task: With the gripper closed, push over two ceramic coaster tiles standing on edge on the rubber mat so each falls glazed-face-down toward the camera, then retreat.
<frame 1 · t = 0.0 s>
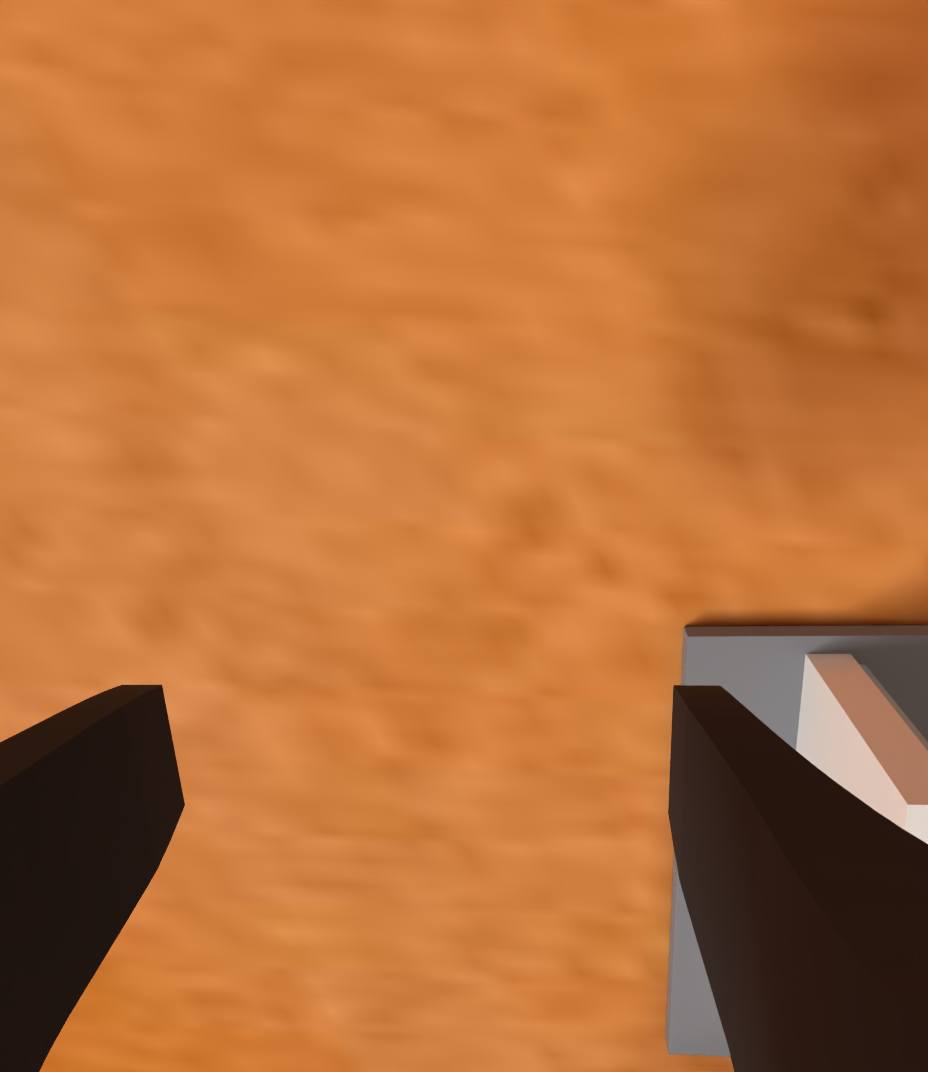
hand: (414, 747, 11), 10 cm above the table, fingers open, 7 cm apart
tile b: (816, 755, 21), point 1 cm above the table, touching mat
mat: (907, 856, 23), on the table
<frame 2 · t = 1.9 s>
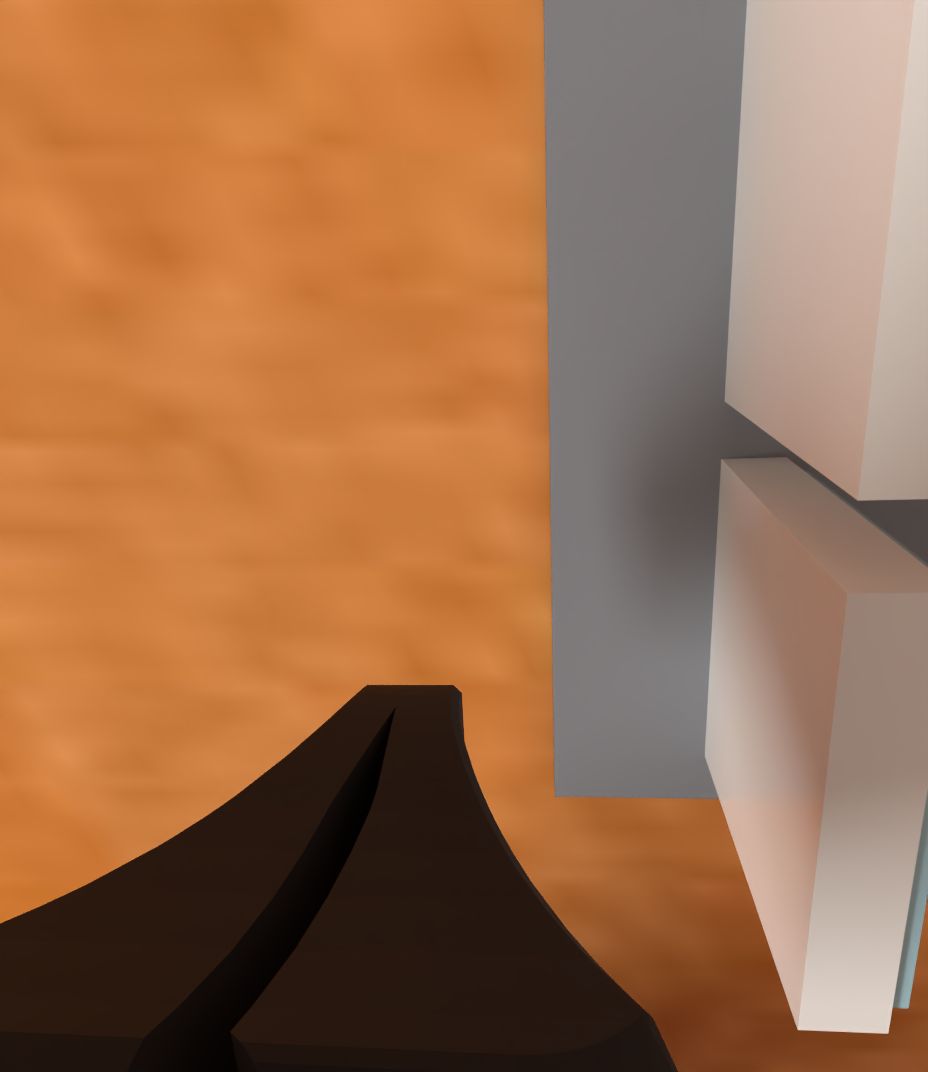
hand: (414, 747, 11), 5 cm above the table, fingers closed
tile b: (771, 209, 13), point 1 cm above the table, touching mat
tile a: (742, 616, 15), point 1 cm above the table, touching mat
mat: (922, 431, 14), on the table
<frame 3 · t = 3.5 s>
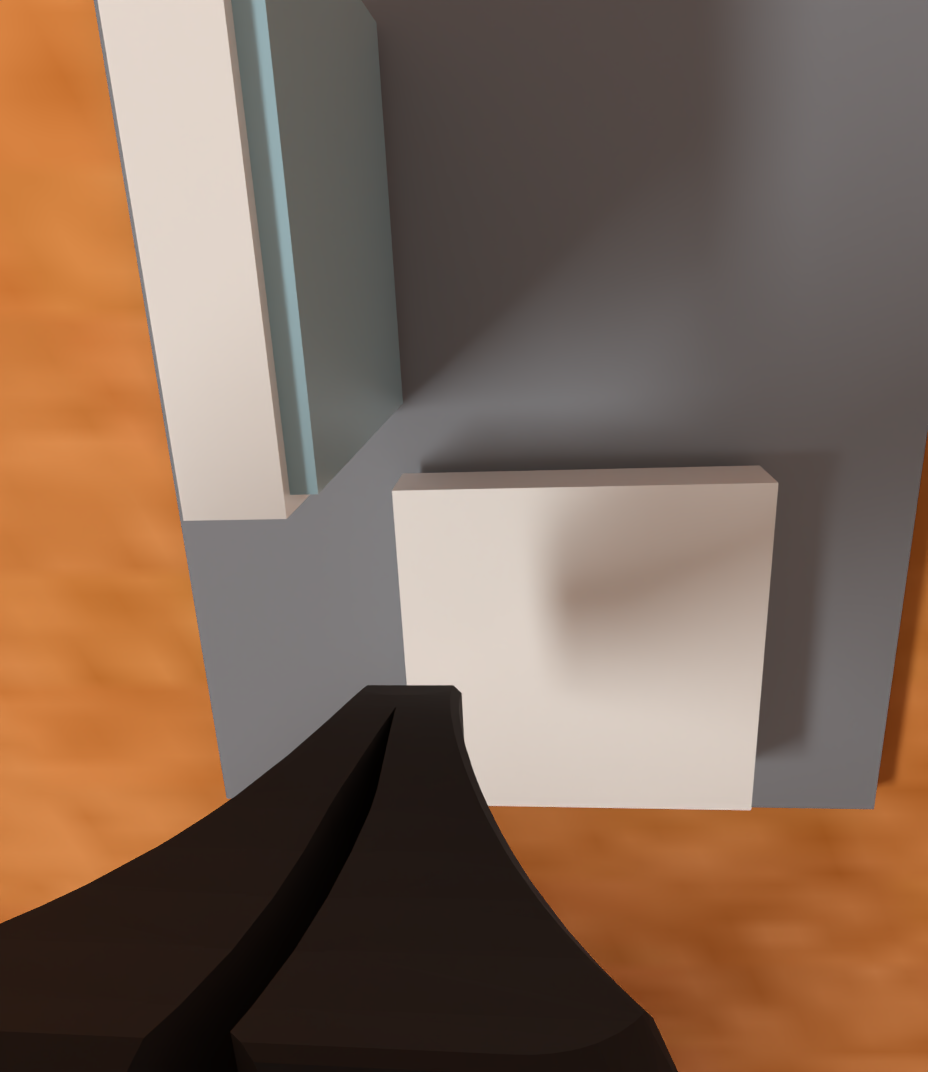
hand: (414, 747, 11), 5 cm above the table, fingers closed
tile b: (340, 229, 13), point 1 cm above the table, touching mat
tile a: (409, 644, 14), point 1 cm above the table, tilted 90°, touching mat
mat: (531, 444, 14), on the table
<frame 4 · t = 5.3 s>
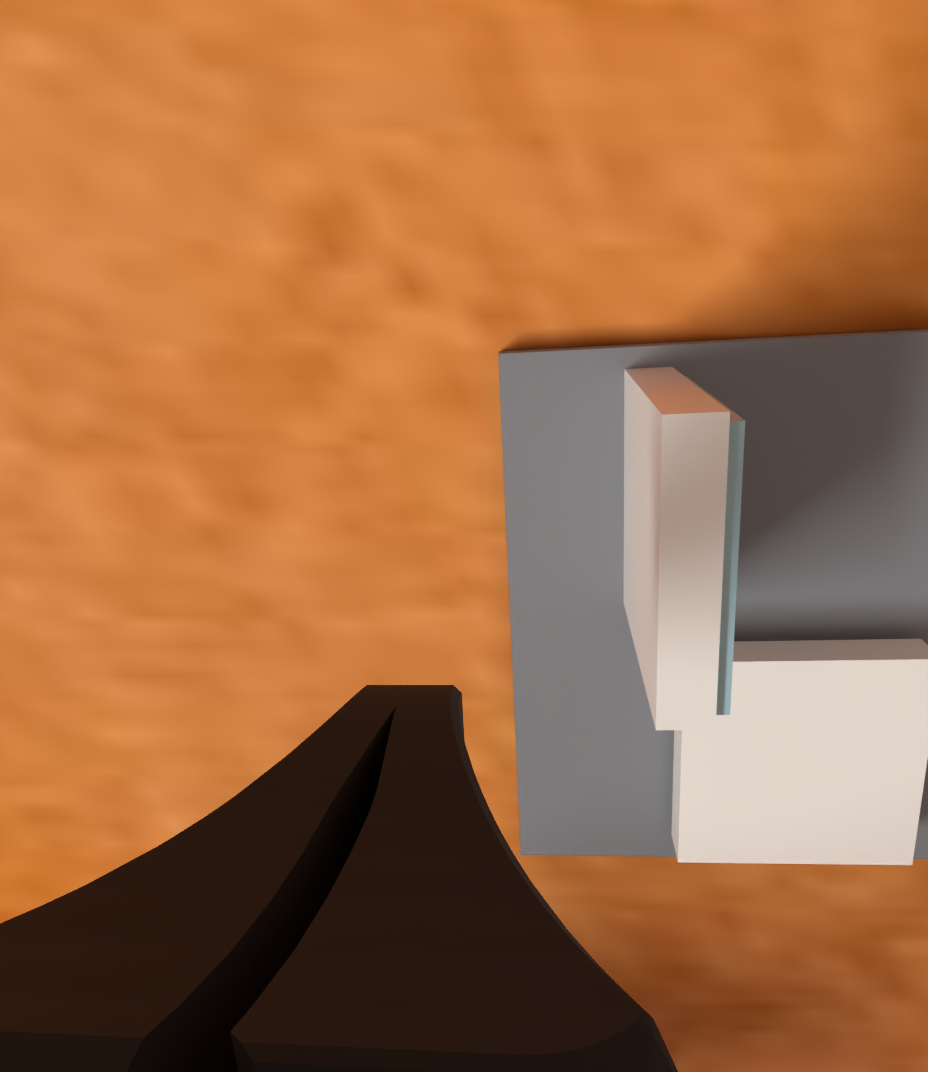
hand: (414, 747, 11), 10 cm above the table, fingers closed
tile b: (646, 490, 20), point 1 cm above the table, touching mat
tile a: (677, 754, 21), point 1 cm above the table, tilted 90°, touching mat
mat: (757, 617, 21), on the table
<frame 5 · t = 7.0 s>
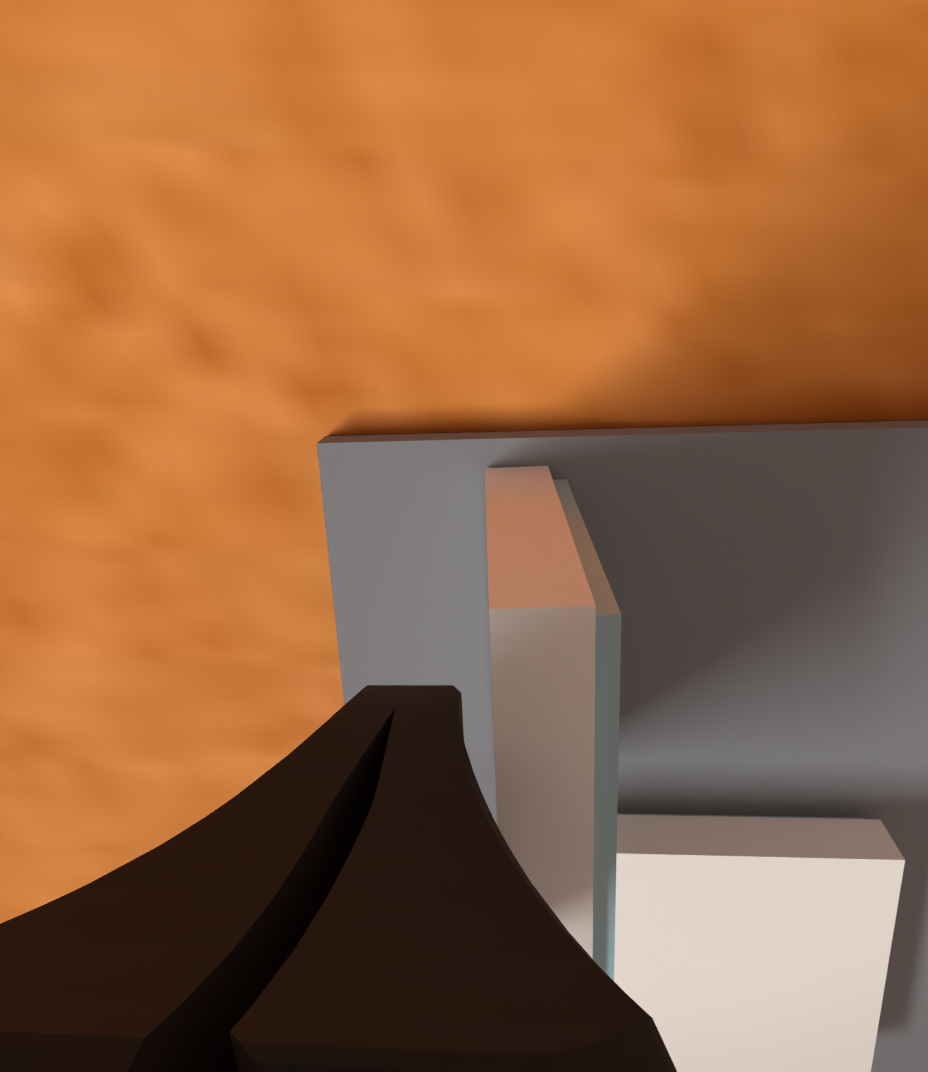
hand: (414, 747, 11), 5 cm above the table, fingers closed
tile b: (520, 624, 15), point 1 cm above the table, touching gripper, mat
tile a: (564, 954, 16), point 1 cm above the table, tilted 90°, touching mat
mat: (671, 776, 16), on the table
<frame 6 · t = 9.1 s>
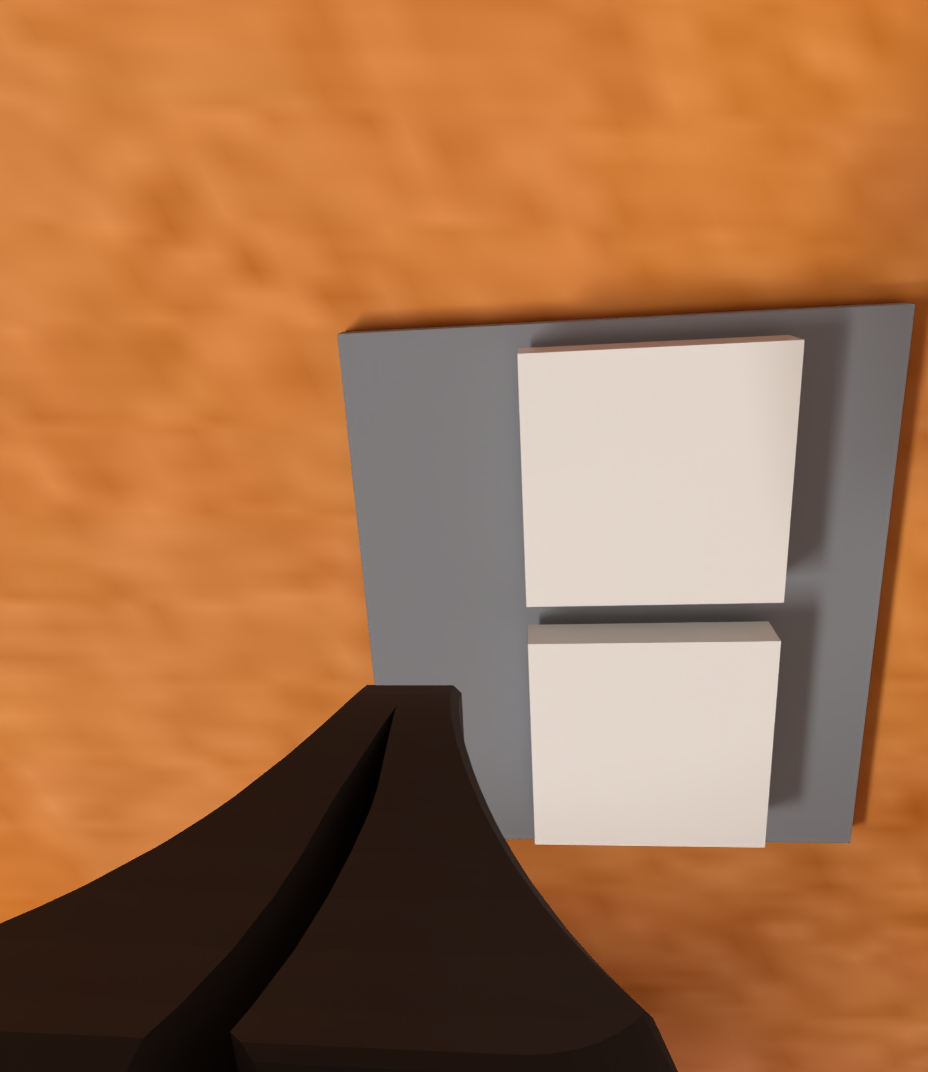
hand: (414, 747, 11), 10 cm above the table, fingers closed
tile b: (522, 480, 19), point 1 cm above the table, tilted 90°, touching mat
tile a: (531, 736, 21), point 1 cm above the table, tilted 90°, touching mat
mat: (612, 600, 21), on the table
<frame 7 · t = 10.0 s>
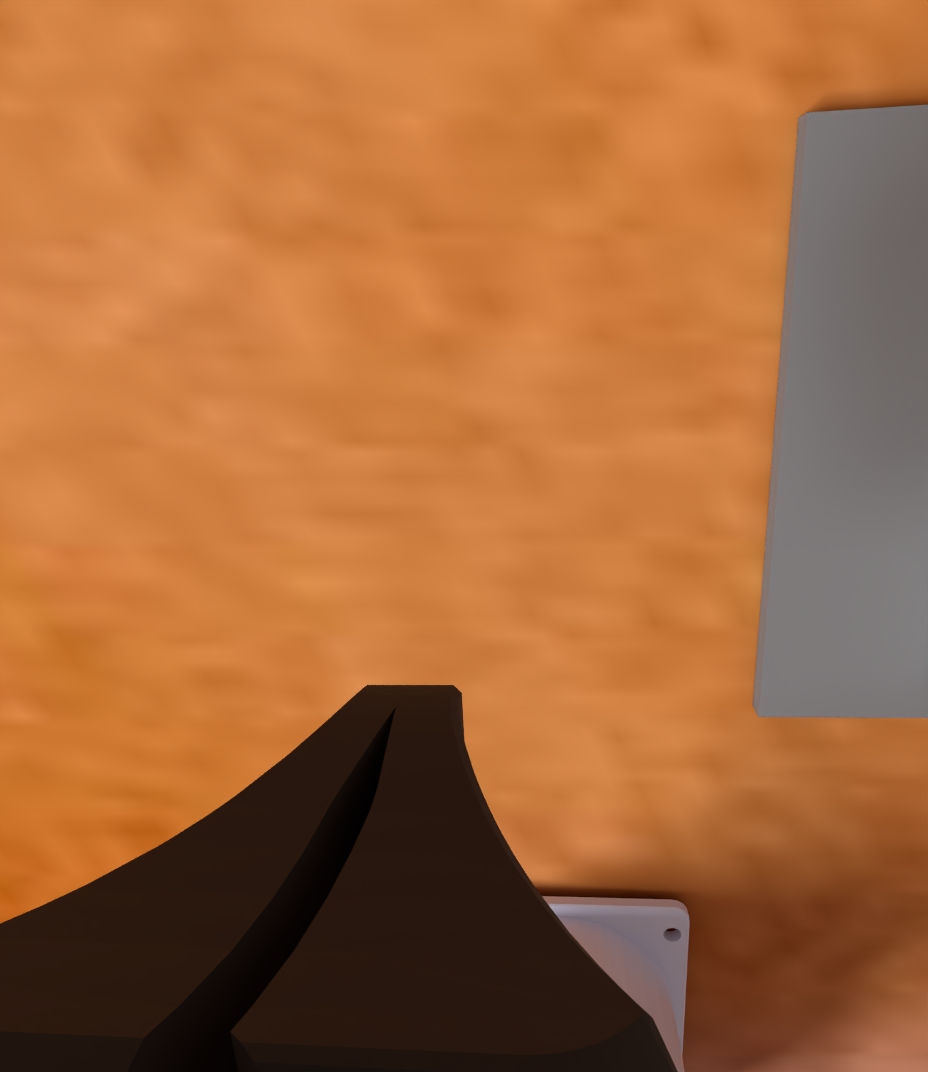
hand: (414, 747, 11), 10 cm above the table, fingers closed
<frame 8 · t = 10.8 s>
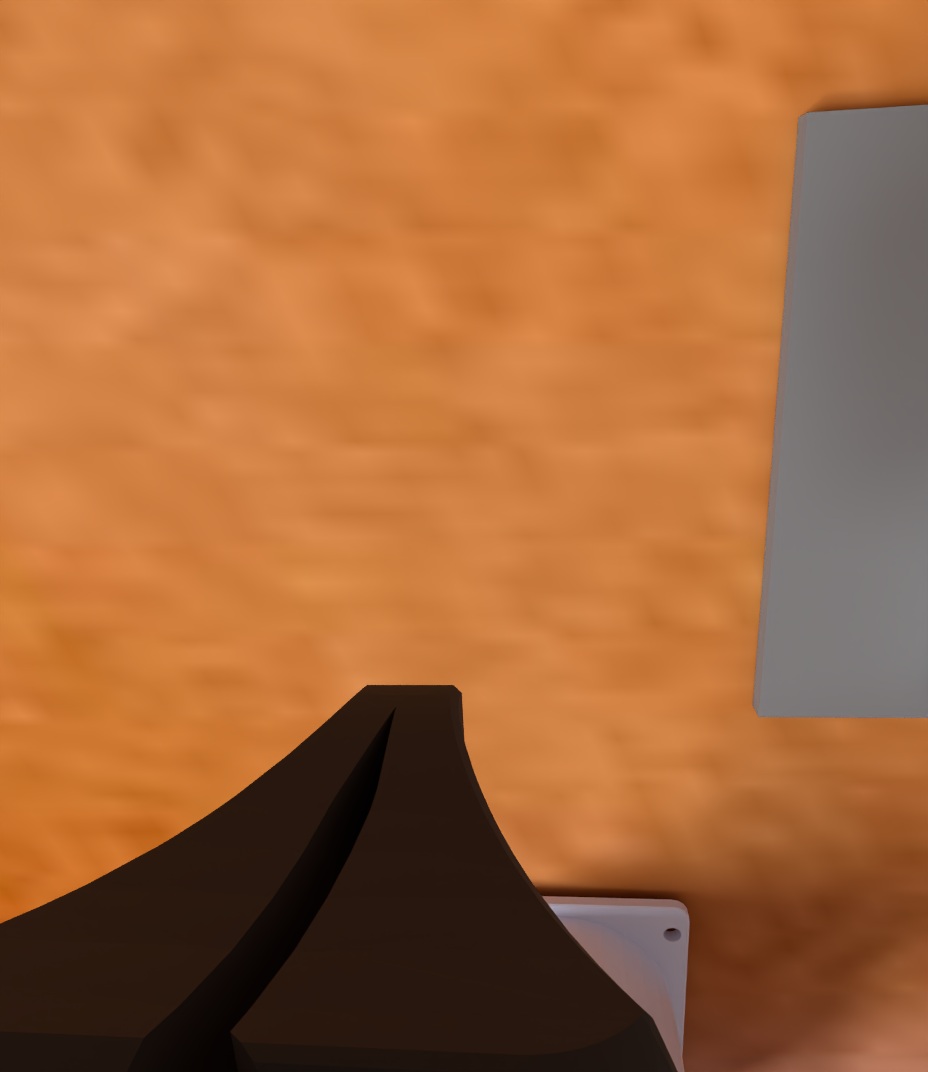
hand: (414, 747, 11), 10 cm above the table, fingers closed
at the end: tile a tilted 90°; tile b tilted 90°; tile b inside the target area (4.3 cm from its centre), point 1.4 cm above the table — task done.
